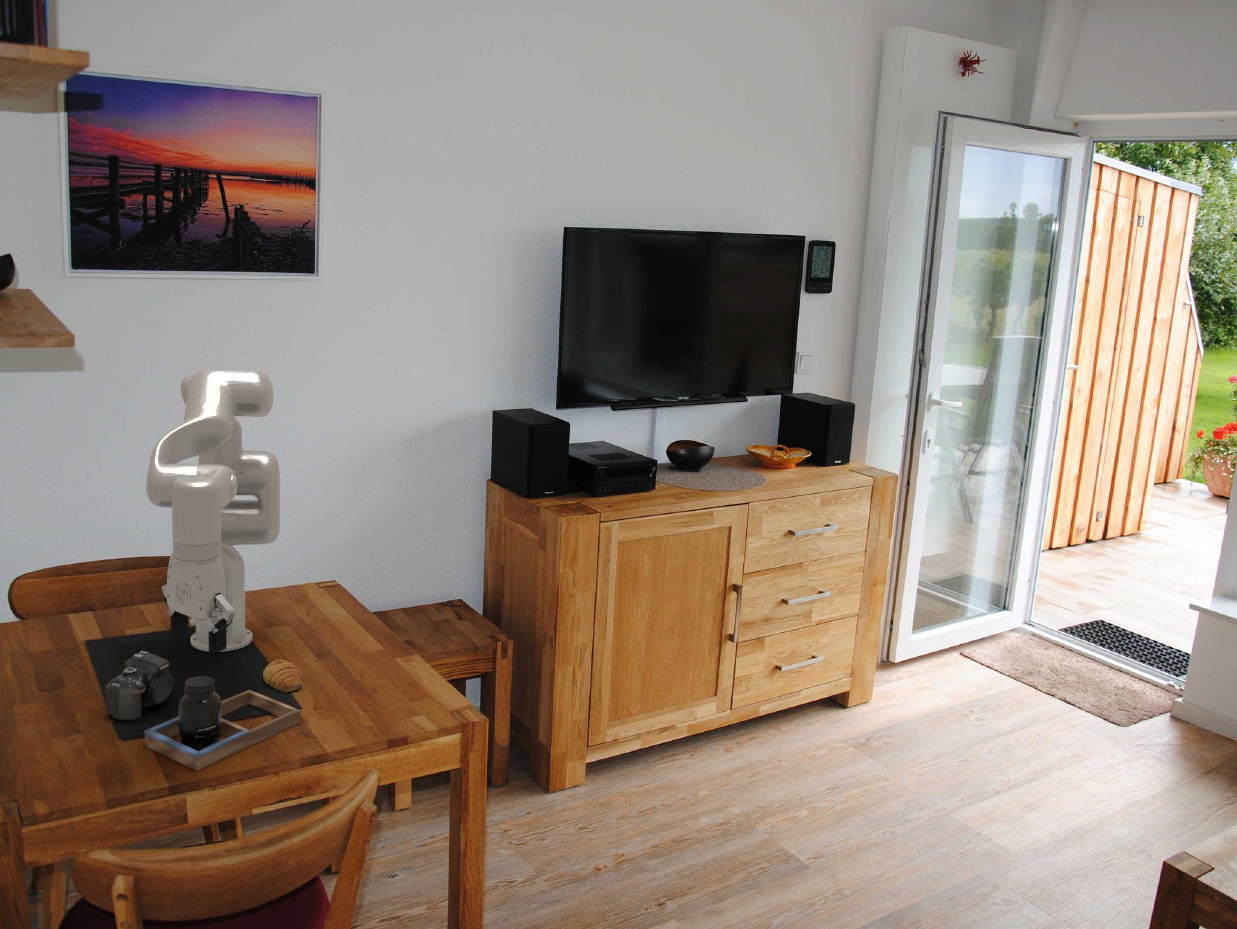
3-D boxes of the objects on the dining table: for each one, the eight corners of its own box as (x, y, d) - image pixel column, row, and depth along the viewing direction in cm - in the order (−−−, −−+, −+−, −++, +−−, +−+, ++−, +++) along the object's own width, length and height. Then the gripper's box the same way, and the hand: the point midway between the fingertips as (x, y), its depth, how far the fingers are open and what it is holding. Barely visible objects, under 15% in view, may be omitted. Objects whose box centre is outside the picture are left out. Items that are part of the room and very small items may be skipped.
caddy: (144, 746, 180) (143, 730, 180) (249, 701, 199) (248, 687, 199) (197, 771, 174) (196, 755, 173) (300, 722, 193) (300, 708, 192)
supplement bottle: (206, 757, 178) (205, 692, 176) (170, 751, 179) (169, 686, 177) (229, 739, 185) (228, 676, 182) (194, 733, 186) (192, 670, 183)
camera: (159, 722, 189) (158, 671, 187) (101, 721, 188) (100, 670, 186) (180, 690, 202) (179, 642, 200) (126, 689, 201) (125, 641, 198)
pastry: (310, 689, 207) (310, 672, 206) (277, 697, 203) (277, 679, 202) (291, 672, 214) (291, 655, 213) (259, 679, 210) (258, 662, 209)
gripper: (144, 542, 175) (146, 636, 179) (212, 566, 167) (214, 664, 171) (182, 532, 182) (184, 623, 186) (250, 555, 173) (250, 650, 177)
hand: (198, 643), depth 178 cm, fingers open, 9 cm apart
